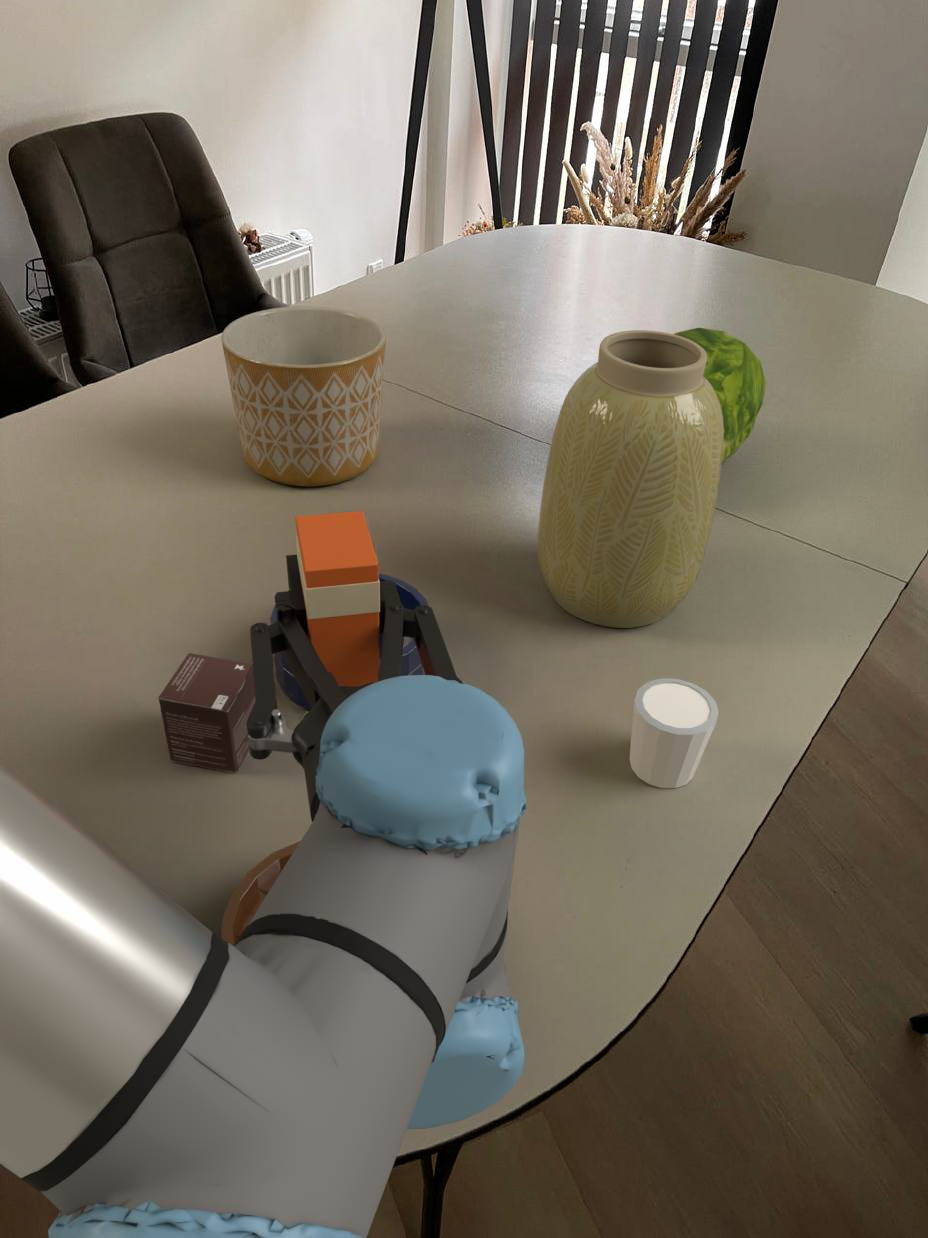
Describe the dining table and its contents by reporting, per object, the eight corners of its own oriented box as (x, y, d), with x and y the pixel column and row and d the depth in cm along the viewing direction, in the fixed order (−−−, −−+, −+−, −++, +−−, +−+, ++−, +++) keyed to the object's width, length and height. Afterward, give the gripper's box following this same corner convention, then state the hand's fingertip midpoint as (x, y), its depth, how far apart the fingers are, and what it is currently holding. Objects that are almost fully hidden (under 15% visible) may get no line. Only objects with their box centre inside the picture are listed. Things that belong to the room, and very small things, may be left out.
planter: (256, 507, 112) (243, 375, 102) (220, 437, 126) (205, 314, 116) (408, 480, 119) (410, 354, 109) (358, 416, 133) (355, 299, 123)
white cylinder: (703, 800, 79) (721, 740, 74) (620, 787, 80) (633, 726, 75) (701, 742, 84) (717, 683, 80) (624, 730, 85) (636, 671, 81)
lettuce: (640, 545, 121) (565, 447, 115) (688, 442, 136) (623, 351, 130) (755, 502, 110) (679, 391, 104) (794, 395, 124) (729, 292, 118)
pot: (283, 729, 83) (278, 678, 79) (269, 628, 94) (264, 578, 91) (445, 707, 86) (448, 657, 83) (413, 611, 98) (414, 563, 94)
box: (199, 714, 84) (188, 650, 80) (263, 726, 83) (256, 662, 79) (168, 763, 79) (155, 698, 75) (236, 776, 79) (227, 711, 74)
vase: (661, 543, 110) (707, 313, 94) (717, 634, 97) (783, 385, 80) (516, 551, 107) (538, 316, 91) (553, 647, 94) (587, 391, 78)
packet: (315, 726, 66) (304, 571, 58) (305, 665, 71) (294, 515, 63) (381, 718, 66) (379, 564, 59) (367, 658, 72) (363, 509, 64)
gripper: (221, 883, 51) (210, 621, 69) (534, 833, 55) (446, 596, 72) (204, 787, 46) (196, 533, 64) (546, 740, 50) (449, 512, 68)
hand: (329, 567), depth 68 cm, fingers closed on packet, 4 cm apart
